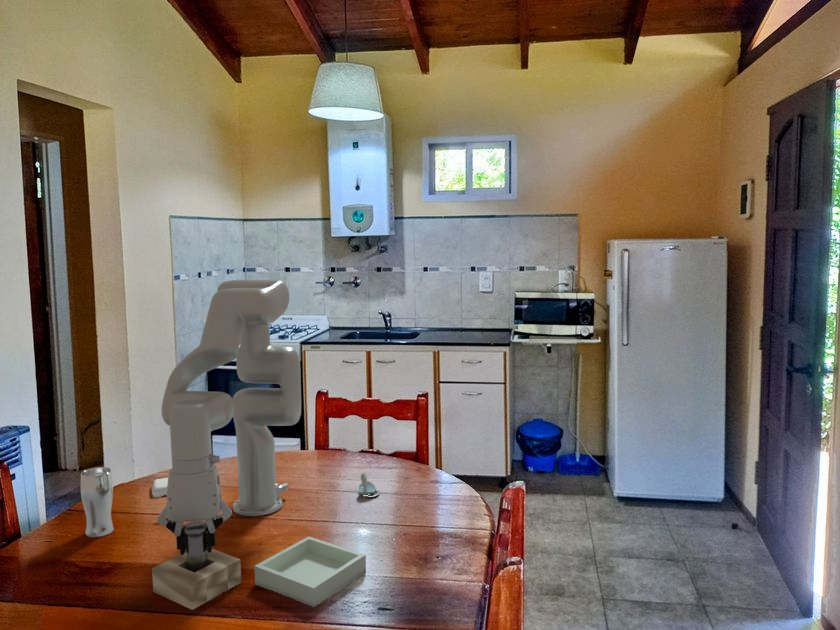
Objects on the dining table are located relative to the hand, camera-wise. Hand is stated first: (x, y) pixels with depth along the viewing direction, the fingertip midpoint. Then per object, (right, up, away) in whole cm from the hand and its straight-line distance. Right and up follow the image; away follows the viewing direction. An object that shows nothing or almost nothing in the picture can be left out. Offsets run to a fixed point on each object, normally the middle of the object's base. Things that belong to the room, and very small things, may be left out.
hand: (196, 549), depth 135 cm
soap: (-26, -2, +53) cm, 59 cm away
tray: (+22, -7, +4) cm, 24 cm away
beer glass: (-32, -5, +26) cm, 42 cm away
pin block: (0, -8, +1) cm, 8 cm away
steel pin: (0, -6, +1) cm, 6 cm away
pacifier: (+31, -2, +49) cm, 58 cm away
